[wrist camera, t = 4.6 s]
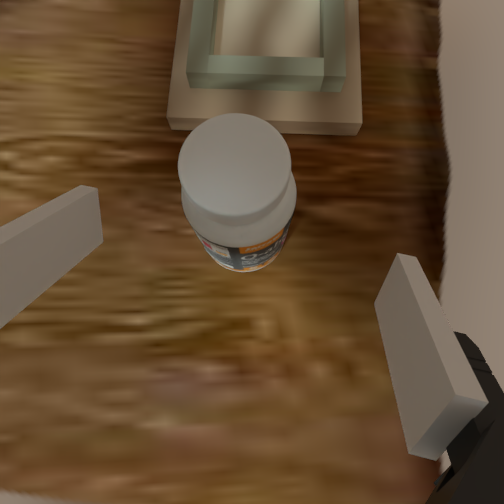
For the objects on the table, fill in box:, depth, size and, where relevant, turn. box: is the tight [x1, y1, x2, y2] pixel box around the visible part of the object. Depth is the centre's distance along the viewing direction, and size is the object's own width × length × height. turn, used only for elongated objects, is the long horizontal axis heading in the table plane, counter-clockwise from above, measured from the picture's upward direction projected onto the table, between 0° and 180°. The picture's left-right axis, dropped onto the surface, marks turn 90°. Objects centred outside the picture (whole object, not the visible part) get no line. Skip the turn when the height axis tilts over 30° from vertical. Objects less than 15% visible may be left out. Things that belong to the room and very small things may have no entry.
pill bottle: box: [178, 113, 297, 272], centre depth 18 cm, size 6×6×10 cm
